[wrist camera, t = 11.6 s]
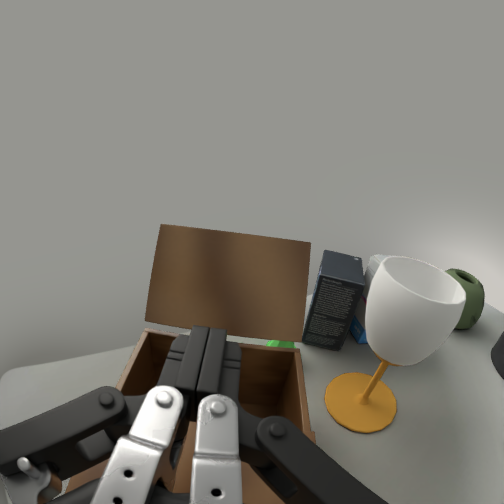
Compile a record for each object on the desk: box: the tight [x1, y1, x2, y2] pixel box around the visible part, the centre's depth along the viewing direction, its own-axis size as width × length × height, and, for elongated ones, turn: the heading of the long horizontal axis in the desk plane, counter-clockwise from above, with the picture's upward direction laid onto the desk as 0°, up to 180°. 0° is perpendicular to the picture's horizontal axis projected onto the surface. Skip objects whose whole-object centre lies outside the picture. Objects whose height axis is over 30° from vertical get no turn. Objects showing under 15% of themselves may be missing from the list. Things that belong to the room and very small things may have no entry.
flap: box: [145, 224, 311, 342], centre depth 22 cm, size 13×8×1 cm
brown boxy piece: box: [65, 328, 316, 504], centre depth 15 cm, size 13×17×9 cm
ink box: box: [349, 254, 392, 344], centre depth 35 cm, size 9×5×12 cm, turn 95°
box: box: [302, 250, 365, 351], centre depth 36 cm, size 8×6×11 cm
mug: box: [444, 269, 484, 329], centre depth 41 cm, size 16×13×9 cm
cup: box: [324, 256, 466, 433], centre depth 23 cm, size 9×9×16 cm
